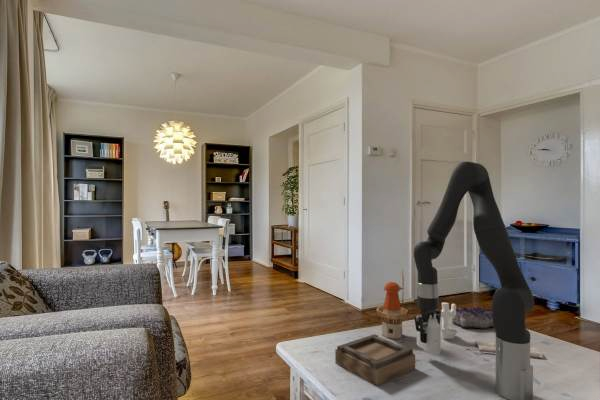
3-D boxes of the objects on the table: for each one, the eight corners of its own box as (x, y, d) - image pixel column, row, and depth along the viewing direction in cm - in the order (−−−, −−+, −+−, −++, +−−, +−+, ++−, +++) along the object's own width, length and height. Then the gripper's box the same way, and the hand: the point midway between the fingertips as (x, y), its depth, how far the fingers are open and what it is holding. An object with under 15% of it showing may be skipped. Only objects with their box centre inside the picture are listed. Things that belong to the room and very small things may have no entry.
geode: (488, 321, 177) (491, 302, 175) (501, 333, 165) (504, 312, 164) (448, 319, 177) (450, 300, 175) (458, 331, 165) (460, 310, 164)
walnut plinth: (415, 368, 126) (415, 350, 126) (377, 385, 114) (377, 365, 114) (372, 349, 142) (372, 333, 142) (335, 363, 130) (335, 345, 130)
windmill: (415, 344, 148) (416, 272, 148) (381, 344, 147) (381, 272, 148) (403, 329, 165) (403, 264, 165) (372, 329, 165) (373, 264, 165)
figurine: (431, 334, 159) (431, 300, 159) (450, 333, 160) (450, 300, 160) (439, 340, 152) (439, 305, 152) (460, 339, 153) (460, 304, 153)
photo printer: (442, 354, 128) (442, 320, 128) (432, 356, 126) (432, 321, 127) (424, 344, 138) (424, 312, 138) (415, 345, 136) (414, 313, 136)
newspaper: (480, 355, 139) (480, 348, 139) (475, 346, 151) (475, 340, 151) (547, 363, 132) (547, 355, 132) (537, 353, 144) (536, 346, 144)
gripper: (425, 300, 125) (426, 348, 125) (447, 293, 134) (448, 339, 133) (407, 296, 131) (407, 342, 131) (429, 290, 140) (430, 333, 139)
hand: (428, 340), depth 132 cm, fingers closed on photo printer, 5 cm apart
